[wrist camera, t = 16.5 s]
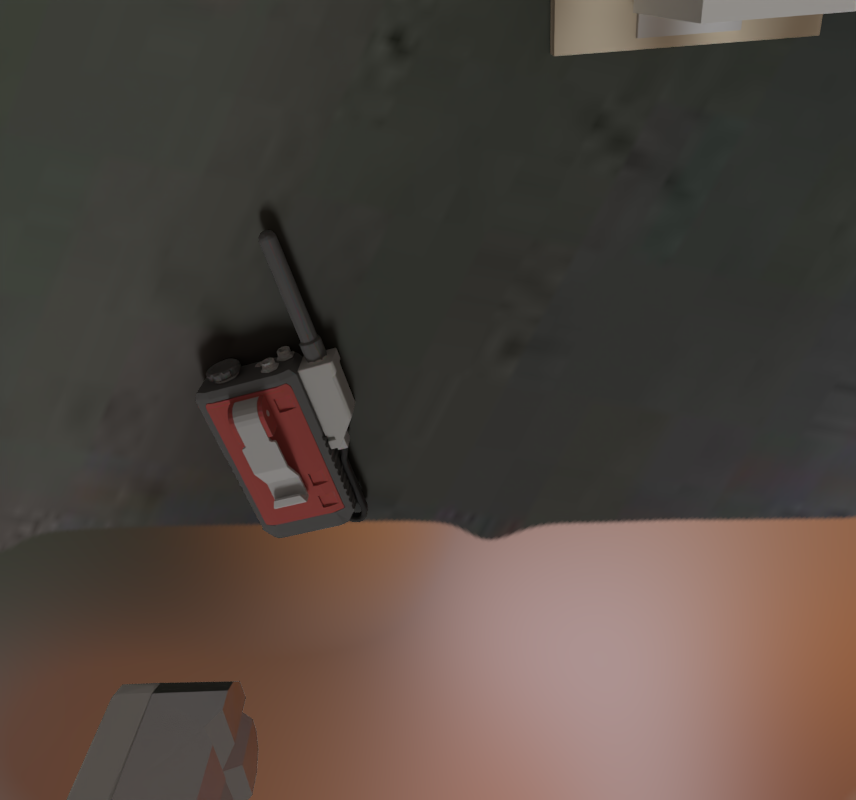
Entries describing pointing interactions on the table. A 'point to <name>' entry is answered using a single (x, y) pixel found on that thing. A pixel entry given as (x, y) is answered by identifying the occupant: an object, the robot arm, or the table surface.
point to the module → (738, 9)
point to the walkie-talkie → (287, 424)
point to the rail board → (655, 28)
